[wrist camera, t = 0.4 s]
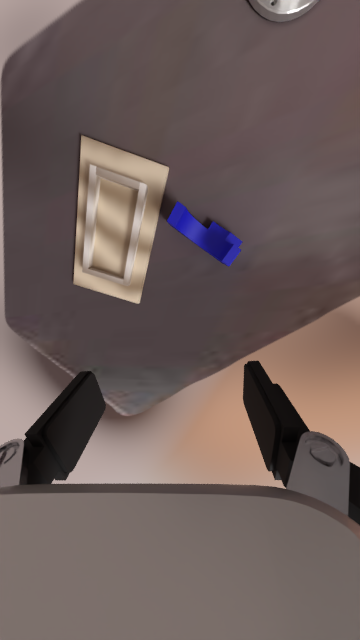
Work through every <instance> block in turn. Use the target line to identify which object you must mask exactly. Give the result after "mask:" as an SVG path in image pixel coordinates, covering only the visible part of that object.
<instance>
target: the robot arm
mask: <svg viewBox="0 0 360 640" xmlns="http://www.w3.org/2000/svg"><path fill="white" fill-rule="evenodd" d="M318 1H319V0H249V2H250V3H251V5H252V6H253V8H254V9H255V10H256V11H257V12H258V13H259V14H260V15H261V16H263V17H265V18H266V19H268V20H271V21H276V22H284V21H290V20H293V19H295V18H298V17H300V16H301V15H303V14H304V13H306V12H307V11H309V10H310V9H311V8H312V7H313V6H314V5H315V4H316V3H317V2H318ZM243 401H244V405H245V408H246V411H247V413H248V417H249V419H250V422H251V425H252V428H253V431H254V434H255V436H256V439H257V442H258V445H259V447H260V450H261V453H262V456H263V459H264V462H265V465H266V467H267V469H268V471H272V473H273V476H274V478H275V480H282V482H283V484H284V486H285V487H286V489H283V488H277V487H269V486H256V485H228V484H51V483H52V481H53V480H54V478H55V480H66V479H67V477H68V475H69V473H70V472H72V471H73V469H74V468H75V466H76V464H77V462H78V460H79V458H80V456H81V454H82V453H83V451H84V449H85V447H86V445H87V443H88V441H89V439H90V437H91V435H92V433H93V431H94V430H95V428H96V426H97V424H98V422H99V420H100V418H101V416H102V415H103V413H104V410H105V406H106V404H105V401H104V398H103V396H102V393H101V390H100V388H99V385H98V382H97V380H96V377H95V375H94V373H92V372H91V371H82V372H80V373H79V374H78V375H77V376H76V377H75V378H74V379H73V380H72V381H71V383H70V384H69V385H68V386H67V387H66V388H65V390H63V392H62V393H61V394H60V395H59V396H58V397H57V398H56V399H55V401H54V402H53V403H52V404H51V405H50V406H49V407H48V408H47V410H46V411H45V412H44V413H43V414H42V415H41V416H40V417H39V419H38V420H37V421H36V422H35V423H34V424H33V425H32V426H31V428H30V429H29V430H28V431H27V432H26V433H25V436H26V437H27V438H26V439H25V440H24V441H23V440H22V439H14V440H11V441H8V442H6V443H5V444H3V445H1V446H0V640H360V467H358V466H356V465H355V464H353V463H351V462H349V458H348V456H347V454H346V452H345V451H344V450H343V448H342V447H341V446H340V445H339V444H338V443H336V442H335V441H334V440H333V439H331V438H330V437H328V436H326V435H324V434H321V433H319V432H313V431H311V432H310V431H309V429H308V427H307V426H306V425H305V423H304V422H303V420H302V419H301V417H300V415H299V414H298V413H297V411H296V409H295V408H294V406H293V405H292V404H291V402H290V400H289V399H288V397H287V396H286V394H285V393H284V391H283V390H282V388H281V387H280V386H279V385H278V384H273V383H272V382H271V380H270V378H269V377H268V375H267V374H266V372H265V370H264V369H263V367H262V366H261V364H260V362H259V361H248V363H247V364H245V365H244V388H243Z"/></svg>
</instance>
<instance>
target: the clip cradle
mask: <svg viewBox="0 0 360 640" xmlns="http://www.w3.org/2000/svg"><path fill="white" fill-rule="evenodd" d="M168 172H169V167H166V166H164V165H161V164H158V163H156V162H153V161H150V160H147V159H145V158H142V157H139V156H136V155H134V154H131V153H128V152H125V151H123V150H120V149H117V148H115V147H112V146H109V145H106V144H104V143H101V142H98V141H95V140H93V139H90V138H87V137H85V136H81V154H80V173H79V191H78V210H77V229H76V247H75V266H74V284H75V285H79V286H82V287H85V288H88V289H92V290H95V291H98V292H101V293H105V294H108V295H111V296H115V297H118V298H121V299H124V300H128V301H131V302H134V303H138V304H139V303H140V299H141V294H142V290H143V285H144V281H145V276H146V272H147V267H148V262H149V258H150V253H151V249H152V244H153V240H154V235H155V231H156V226H157V222H158V217H159V213H160V208H161V204H162V199H163V194H164V190H165V185H166V181H167V176H168Z"/></svg>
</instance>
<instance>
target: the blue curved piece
mask: <svg viewBox="0 0 360 640" xmlns="http://www.w3.org/2000/svg"><path fill="white" fill-rule="evenodd" d="M167 222H168V223H169V224H170V225H171V226H172V227H173V228H175V229H176V230H178V231H179V232H180V233H182V234H183V235H184V236H186V237H187V238H188V239H190V240H191V241H193V242H194V243H195V244H197V245H198V246H199V247H201V248H202V249H204V250H205V251H206V252H208V253H209V254H210V255H212V256H213V257H215V258H216V259H217V260H219V261H220V262H221V263H223V264H225V265H227V266H230V265H231V263H232V262H233V261H234V259H235V258H236V257H237V255H238V254H239V253H240V251H241V249H239V248H238V247H239V246H240V245H241V243H242V241H241V240H239V239H238V238H237V237H236V236H234V235H233V234H232V233H230V232H229V231H227V230H225V229H223V228H222V227H220V226H219V225H218V224H216V223H215V222H212V223H211V225H210V227H209V228H208V229H207V228H205V227H204V226H203V225H202V224H200V223H199V222H198V221H197V220H196V219H195V218H194V217H193V216H192V215H191V214H190V213H189V212H188V211H187V209H186V207H185V206H183V205H182V204H181V203H179V202H178V201H177V203H176V205H175V207H174V209H173V211H172V213H171V214H170V216H169V218H168V220H167Z"/></svg>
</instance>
